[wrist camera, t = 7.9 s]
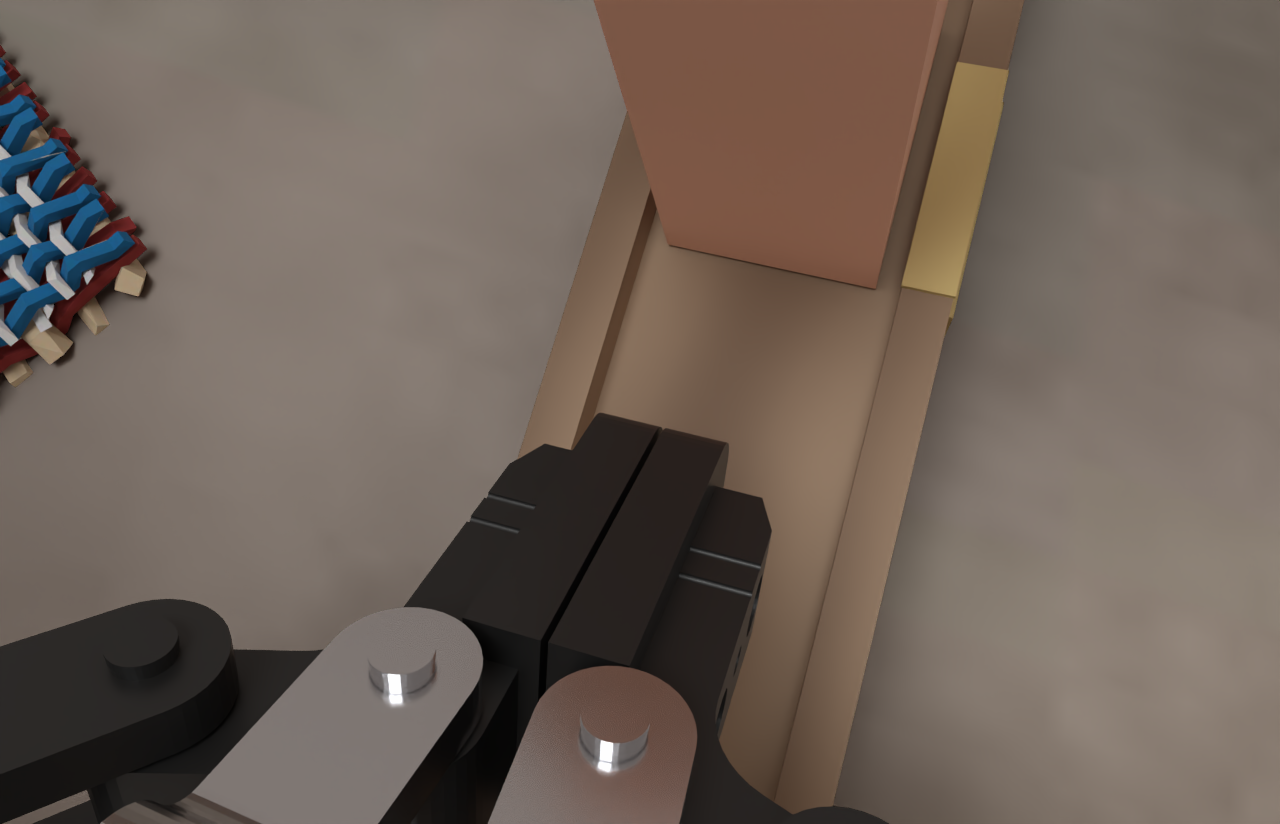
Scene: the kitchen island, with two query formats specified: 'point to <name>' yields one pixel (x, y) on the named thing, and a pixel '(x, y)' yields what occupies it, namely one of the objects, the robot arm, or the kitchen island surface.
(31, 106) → the woven mat
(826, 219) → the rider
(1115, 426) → the kitchen island surface
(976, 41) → the beam
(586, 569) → the robot arm
